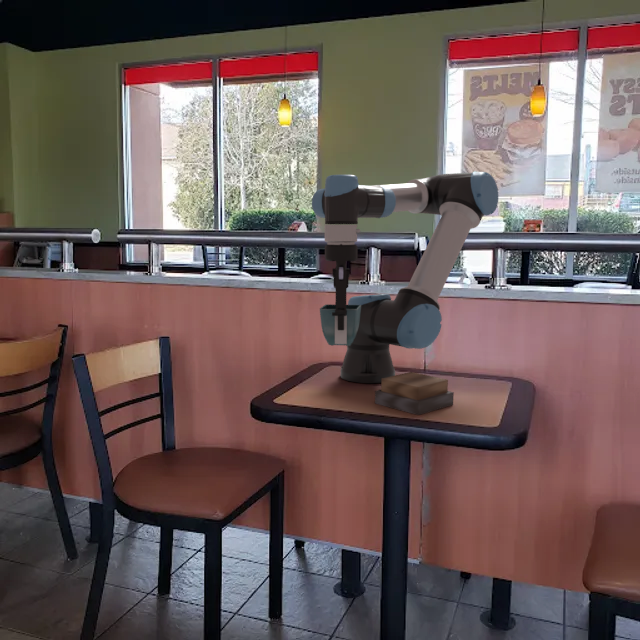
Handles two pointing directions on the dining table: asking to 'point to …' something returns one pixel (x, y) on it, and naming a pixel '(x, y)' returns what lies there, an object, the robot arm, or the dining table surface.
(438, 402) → the tier stand
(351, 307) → the flower pot
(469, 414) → the dining table surface
